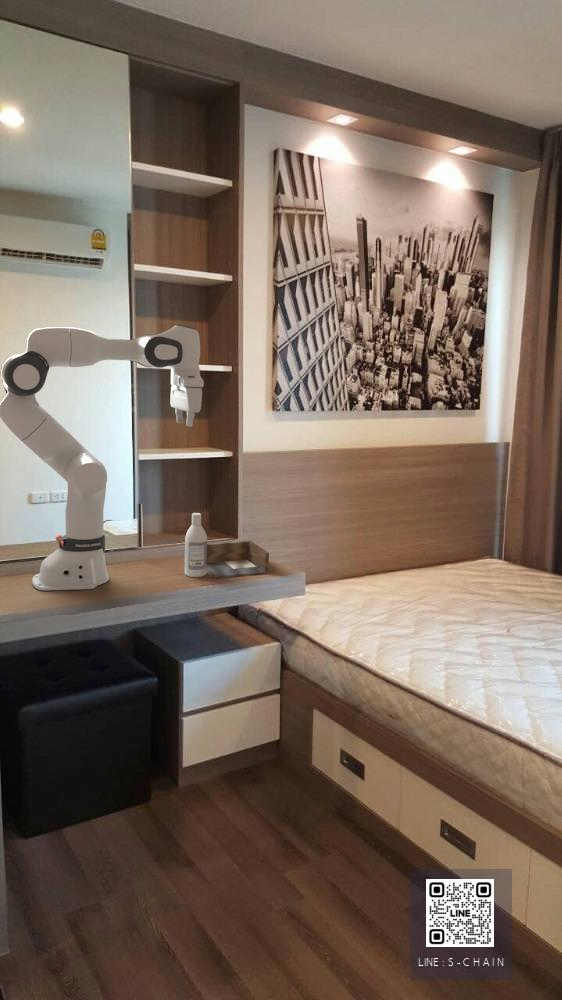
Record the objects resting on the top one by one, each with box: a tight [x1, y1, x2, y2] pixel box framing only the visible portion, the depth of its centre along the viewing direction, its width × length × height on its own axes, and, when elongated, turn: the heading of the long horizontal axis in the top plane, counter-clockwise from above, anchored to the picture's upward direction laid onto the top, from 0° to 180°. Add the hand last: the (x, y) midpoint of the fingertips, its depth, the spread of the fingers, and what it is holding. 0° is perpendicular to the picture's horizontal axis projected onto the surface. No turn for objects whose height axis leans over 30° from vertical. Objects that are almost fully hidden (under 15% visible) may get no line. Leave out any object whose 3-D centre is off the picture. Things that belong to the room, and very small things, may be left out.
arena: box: [206, 540, 270, 579], centre depth 238 cm, size 18×16×7 cm
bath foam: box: [184, 512, 208, 578], centre depth 229 cm, size 7×7×20 cm
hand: (184, 424), depth 224 cm, fingers open, 8 cm apart
